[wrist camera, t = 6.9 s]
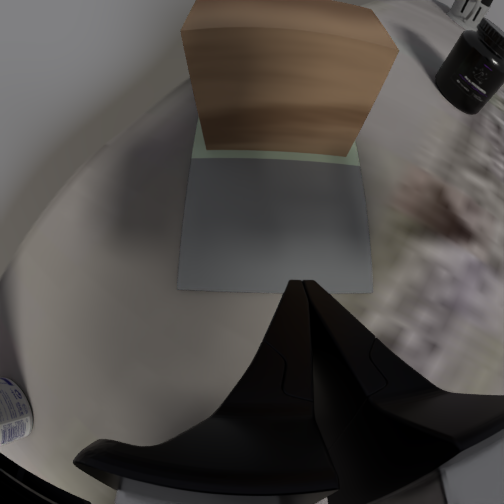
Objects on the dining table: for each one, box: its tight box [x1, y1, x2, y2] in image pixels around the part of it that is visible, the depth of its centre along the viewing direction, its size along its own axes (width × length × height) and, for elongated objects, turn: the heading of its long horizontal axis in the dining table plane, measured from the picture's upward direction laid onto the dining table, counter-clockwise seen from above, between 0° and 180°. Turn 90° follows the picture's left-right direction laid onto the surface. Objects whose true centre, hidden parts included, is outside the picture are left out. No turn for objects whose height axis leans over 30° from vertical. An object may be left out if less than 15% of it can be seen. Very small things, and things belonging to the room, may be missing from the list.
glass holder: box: [447, 0, 493, 31], centre depth 24 cm, size 9×14×15 cm, turn 146°
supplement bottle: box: [435, 17, 504, 115], centre depth 16 cm, size 7×7×12 cm
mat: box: [177, 116, 373, 294], centre depth 19 cm, size 24×12×1 cm, turn 179°
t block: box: [181, 0, 399, 157], centre depth 16 cm, size 14×10×10 cm
